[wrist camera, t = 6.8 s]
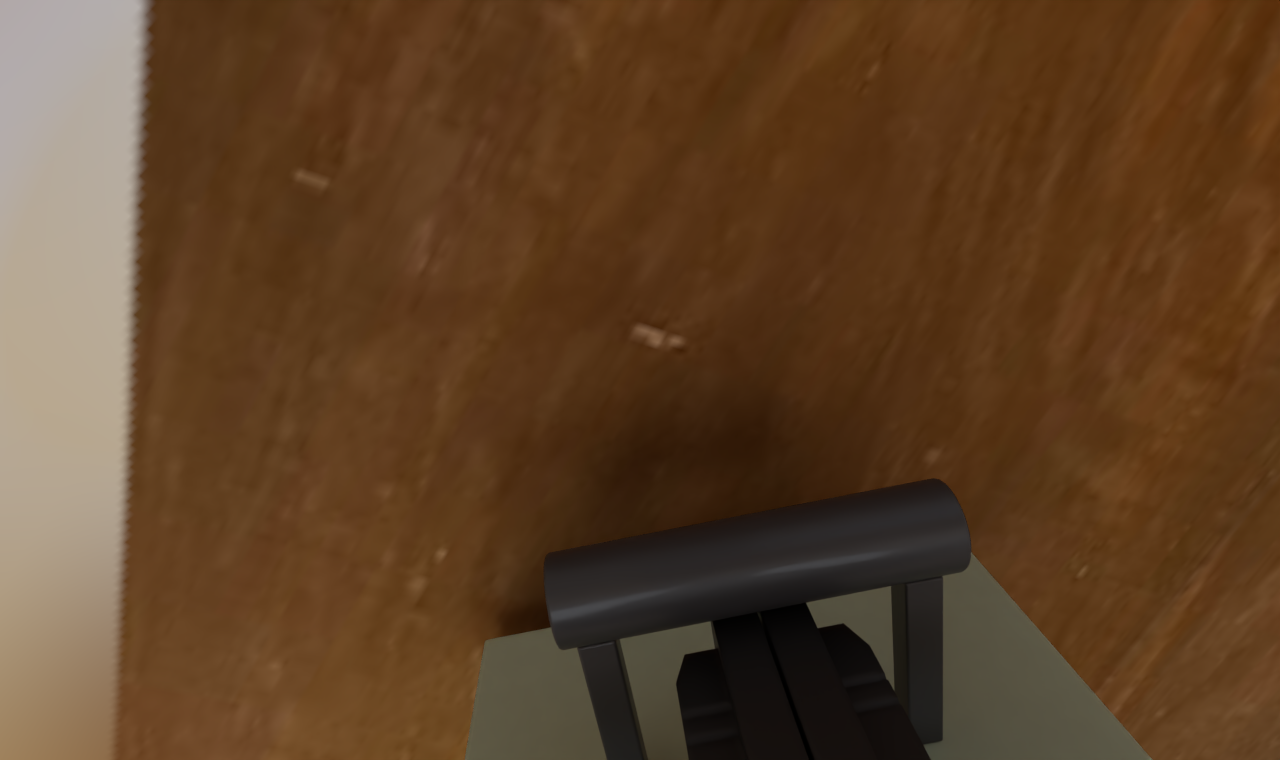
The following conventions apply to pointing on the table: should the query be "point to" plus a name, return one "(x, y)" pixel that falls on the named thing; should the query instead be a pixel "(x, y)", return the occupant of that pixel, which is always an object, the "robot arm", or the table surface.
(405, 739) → the table surface
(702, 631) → the drawer
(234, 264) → the table surface
